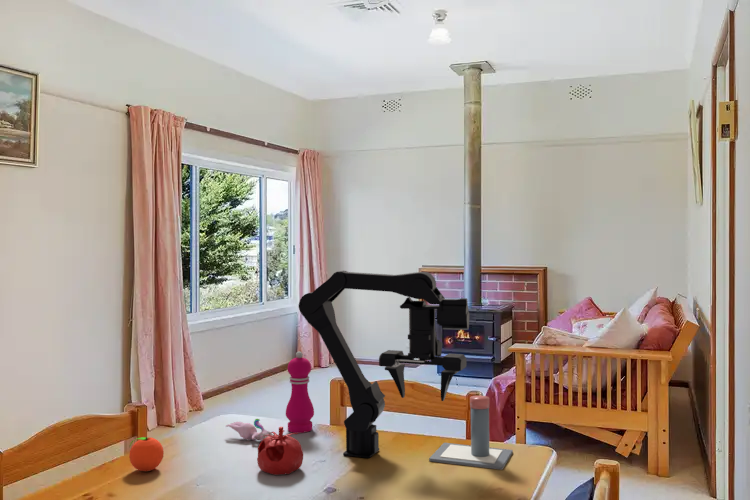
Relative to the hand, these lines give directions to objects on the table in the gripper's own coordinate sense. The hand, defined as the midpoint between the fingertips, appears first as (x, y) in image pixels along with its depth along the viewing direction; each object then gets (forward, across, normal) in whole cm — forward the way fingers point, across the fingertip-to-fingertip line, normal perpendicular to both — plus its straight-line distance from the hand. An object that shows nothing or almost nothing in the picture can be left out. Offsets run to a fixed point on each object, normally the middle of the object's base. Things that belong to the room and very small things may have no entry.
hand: (422, 399), depth 150 cm
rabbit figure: (+13, +43, +2) cm, 45 cm away
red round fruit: (+13, +26, +18) cm, 34 cm away
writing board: (+13, -10, -4) cm, 17 cm away
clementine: (+13, +53, +28) cm, 61 cm away
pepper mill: (+13, +36, -10) cm, 40 cm away
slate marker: (+12, -12, -4) cm, 18 cm away
